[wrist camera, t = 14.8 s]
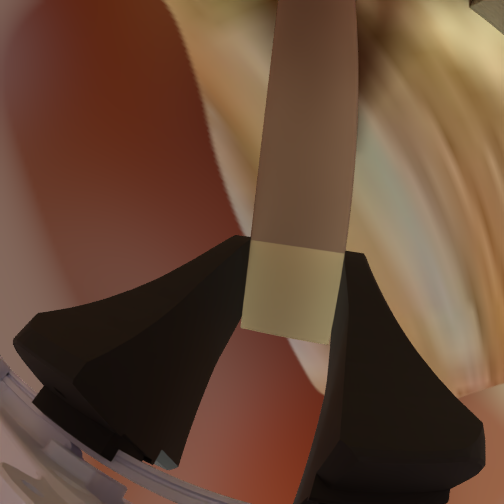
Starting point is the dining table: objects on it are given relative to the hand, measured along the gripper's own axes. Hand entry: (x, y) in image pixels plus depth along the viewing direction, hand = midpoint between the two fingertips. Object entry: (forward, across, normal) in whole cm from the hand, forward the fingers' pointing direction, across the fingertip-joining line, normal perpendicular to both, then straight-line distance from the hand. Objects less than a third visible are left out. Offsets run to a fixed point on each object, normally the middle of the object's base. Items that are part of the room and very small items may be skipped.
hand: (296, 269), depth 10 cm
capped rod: (+4, 0, -3) cm, 5 cm away
